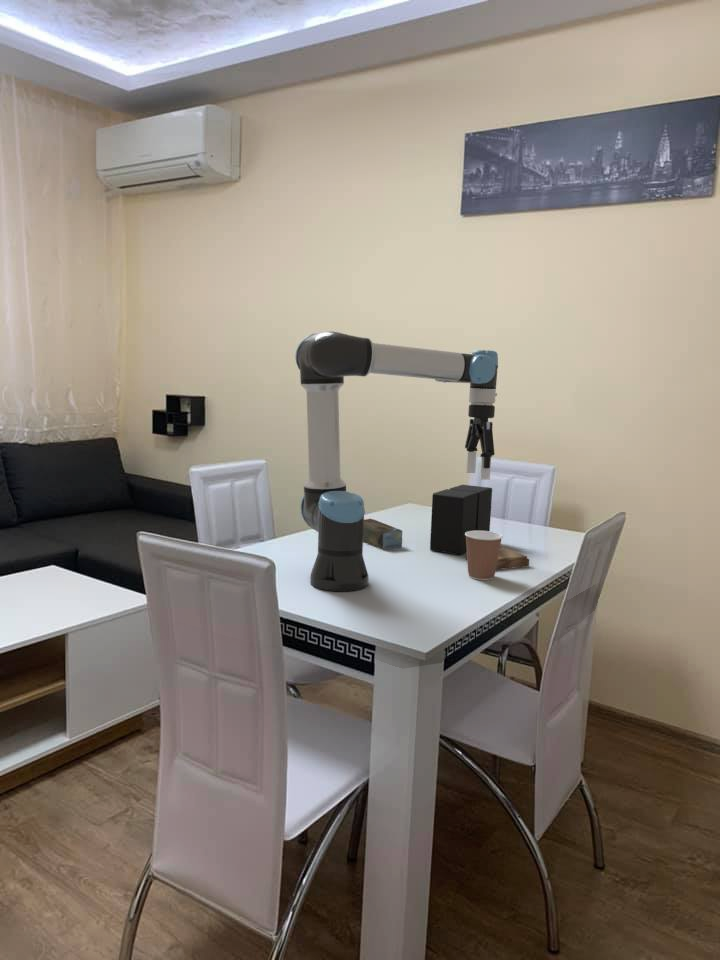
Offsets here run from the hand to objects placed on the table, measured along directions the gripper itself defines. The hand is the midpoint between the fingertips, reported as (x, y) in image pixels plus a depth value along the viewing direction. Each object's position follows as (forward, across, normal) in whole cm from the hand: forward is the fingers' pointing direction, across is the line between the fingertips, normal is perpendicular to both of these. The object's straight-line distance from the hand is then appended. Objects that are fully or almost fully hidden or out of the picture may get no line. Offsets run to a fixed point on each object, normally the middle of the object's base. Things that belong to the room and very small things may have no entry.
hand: (477, 476), depth 206 cm
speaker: (+26, +18, -2) cm, 32 cm away
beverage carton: (+26, +23, +25) cm, 43 cm away
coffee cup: (+26, -17, +3) cm, 31 cm away
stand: (+26, -3, -7) cm, 27 cm away
